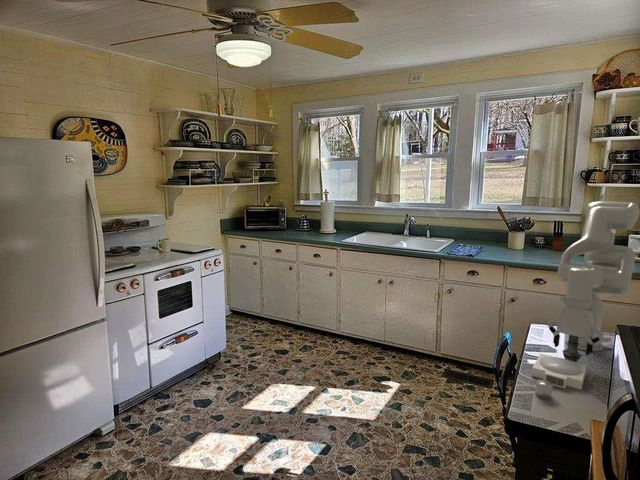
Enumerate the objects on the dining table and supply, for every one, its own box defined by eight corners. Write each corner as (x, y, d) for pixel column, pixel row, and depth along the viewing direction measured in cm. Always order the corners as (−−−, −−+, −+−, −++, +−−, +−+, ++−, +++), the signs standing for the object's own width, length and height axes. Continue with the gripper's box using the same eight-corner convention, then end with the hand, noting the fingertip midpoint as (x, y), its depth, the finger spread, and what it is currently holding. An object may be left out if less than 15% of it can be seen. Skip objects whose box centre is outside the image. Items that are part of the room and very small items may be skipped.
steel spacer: (546, 391, 124) (547, 379, 123) (554, 399, 120) (556, 387, 119) (532, 391, 124) (533, 379, 123) (540, 399, 120) (541, 387, 119)
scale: (539, 361, 145) (540, 351, 144) (586, 373, 136) (587, 363, 136) (529, 379, 132) (530, 368, 131) (580, 393, 123) (581, 382, 123)
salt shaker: (583, 367, 141) (587, 334, 139) (565, 365, 142) (568, 332, 140) (576, 359, 146) (580, 328, 145) (558, 358, 148) (562, 326, 146)
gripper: (547, 299, 144) (542, 345, 146) (605, 311, 132) (599, 360, 134) (552, 296, 149) (547, 340, 152) (609, 306, 138) (603, 354, 140)
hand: (571, 349), depth 143 cm, fingers open, 9 cm apart
